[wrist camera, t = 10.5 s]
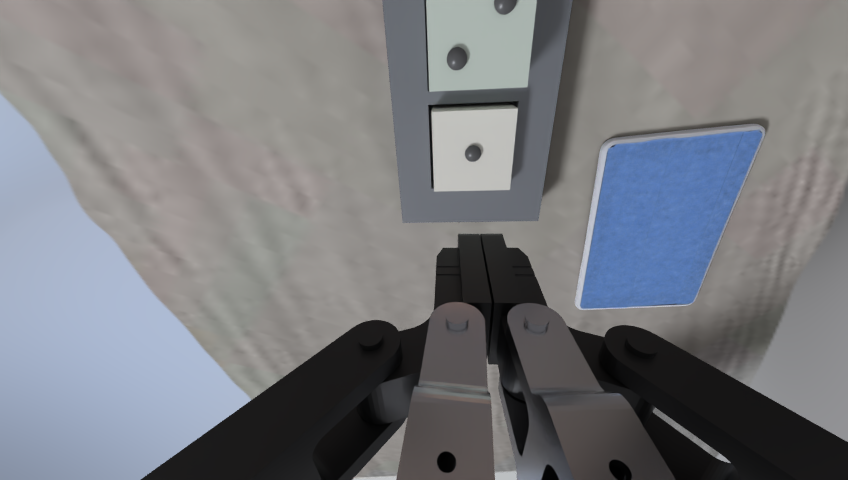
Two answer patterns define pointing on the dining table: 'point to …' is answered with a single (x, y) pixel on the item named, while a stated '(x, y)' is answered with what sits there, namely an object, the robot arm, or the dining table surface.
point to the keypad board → (416, 103)
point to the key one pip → (473, 146)
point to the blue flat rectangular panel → (661, 214)
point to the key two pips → (479, 43)
